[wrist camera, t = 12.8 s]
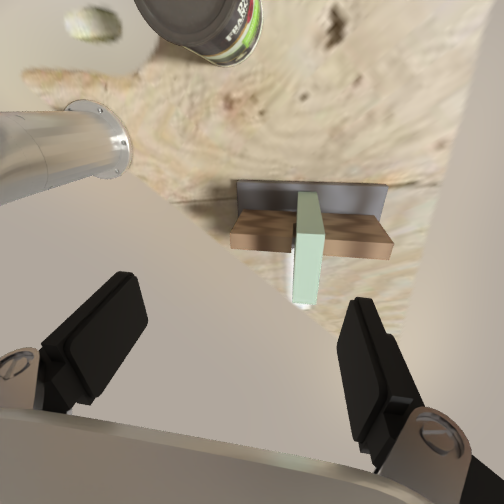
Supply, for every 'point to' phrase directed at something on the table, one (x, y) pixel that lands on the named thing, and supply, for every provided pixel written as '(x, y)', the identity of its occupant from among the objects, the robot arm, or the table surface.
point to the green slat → (308, 249)
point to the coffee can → (207, 26)
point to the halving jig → (332, 210)
